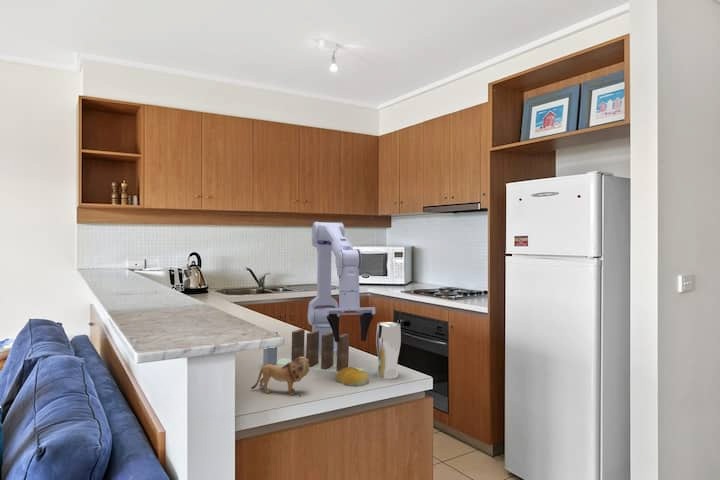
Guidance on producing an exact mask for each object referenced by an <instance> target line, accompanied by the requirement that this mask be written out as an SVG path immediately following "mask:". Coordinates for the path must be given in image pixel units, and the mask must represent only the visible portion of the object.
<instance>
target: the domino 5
mask: <svg viewBox="0 0 720 480" xmlns="http://www.w3.org/2000/svg"><path fill="white" fill-rule="evenodd" d="M349 345H350V334H349V333H343V334H341V335H340V334H339V342H337V351H336V365H337V368H336V371H340V370H342V369H343V368H345V367H349V360H350V359H349V356H350V354H349V353H350V351H349V350H350V346H349Z"/></svg>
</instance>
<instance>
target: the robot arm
mask: <svg viewBox="0 0 720 480" xmlns="http://www.w3.org/2000/svg"><path fill="white" fill-rule="evenodd" d="M345 233H346V232H345V225H344V224H343V222H321V221H314V222H313V224H312V226H311V244H312V247H315V248H316V252H317V262H316V263H317V265H316V266H317V268H316V269H317V271H316V272H317V274H316V275H317V276H316V277H317V279H316V282H317V283H316V291H317V292H316V296H315V297H314V298H313V299H311V300H310V301H309V303H308V309H307V321H308V324H309V325H310V326H312V328H311V330H312V331H314V330H315V331H319V355H321V346H322V335H323V334H326V333H328V332H333V335H334V351H333V354H335V352H336V353H337V342H339V336H340V319H341V318H340V316H350V315H351V316H352V315H355V316H356V315H359V322H360V340H361V342H366V340H367V335H368V332H369V327H370V325H371V323H372V321H373V318H374V315H376V307H375V306H371V307H370V306H369V307H361V304H360V302H361V301H360V271H359V270H360V269H361V267H362V261H363V260H362V259H363V258H362V253H361V250H360V249H359V248H354V247H353V246H352V244H351V242H350V240H349V239H347V237H346V236H345ZM332 252H333V255H334V256H335V267H336V275H337V277H338V300H339V301H337V300H336V299H335V298H334V297H332ZM351 311H352V312H351ZM312 331H311V332H312Z"/></svg>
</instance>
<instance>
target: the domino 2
mask: <svg viewBox="0 0 720 480" xmlns="http://www.w3.org/2000/svg"><path fill="white" fill-rule="evenodd" d="M305 330H306V329H304V328H299V329H296V330H294V331H291V354H290V355H291V358H290V359H291V362H292V361H294V360H295V359H296V358H298V357H305V337H306V336H305V333H306V332H305Z"/></svg>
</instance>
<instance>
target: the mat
mask: <svg viewBox="0 0 720 480" xmlns="http://www.w3.org/2000/svg"><path fill="white" fill-rule="evenodd" d="M290 362H291V358H288V357H287V358H286V357H283V358H280V359H277V364H276V365H283V366H285V365H286V364H287V363H290ZM336 368H337V364H333V366H331V367H330V368H328V369H326V370H325V369H321V362H318V364H317V365H315V366H313V367H311V368H310V367H309V370H316V371H323V372H330V373H336V374H337V373H338V372H339V371H336ZM354 368H356V369H358V370H359V371H363V372H365V370H366V368H361V367H354Z"/></svg>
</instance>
